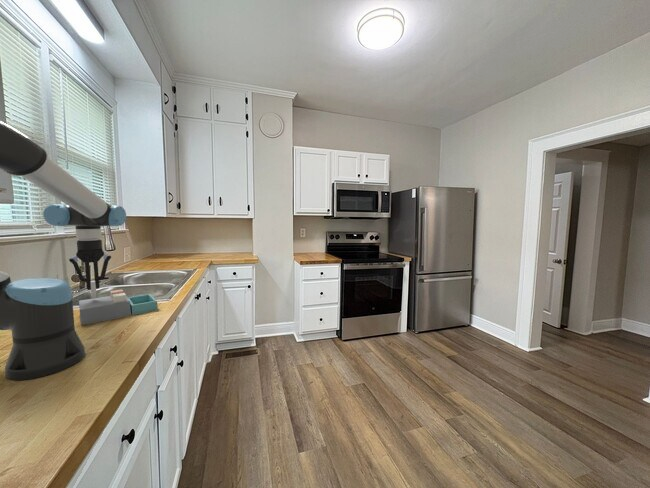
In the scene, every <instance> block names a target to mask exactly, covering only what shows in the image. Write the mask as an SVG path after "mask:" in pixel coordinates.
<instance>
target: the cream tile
mask: <svg viewBox="0 0 650 488" xmlns="http://www.w3.org/2000/svg"><path fill="white" fill-rule="evenodd" d="M126 296H127V294H126V293H125V292H123V293H120V294H113V295H112V297H113V302H114V303H117V302H122V301H126Z"/></svg>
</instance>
